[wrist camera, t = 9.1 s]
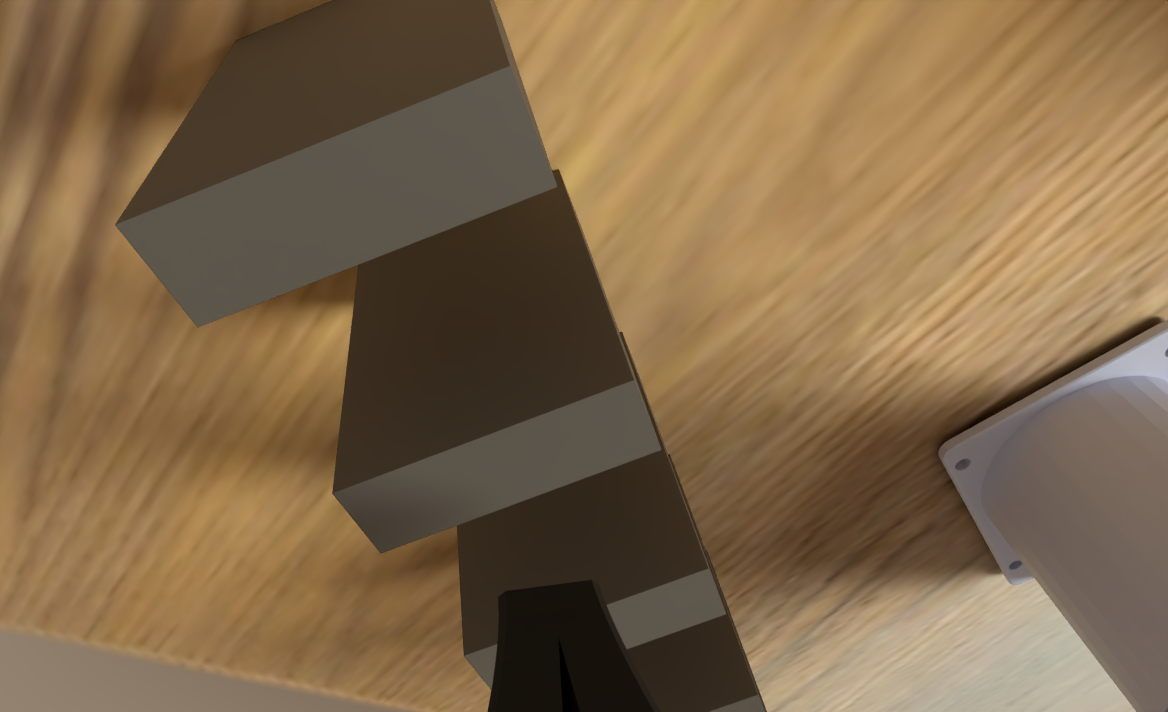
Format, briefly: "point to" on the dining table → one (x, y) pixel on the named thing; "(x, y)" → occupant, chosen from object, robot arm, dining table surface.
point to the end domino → (336, 150)
